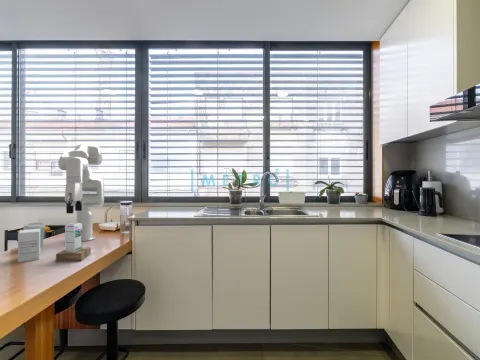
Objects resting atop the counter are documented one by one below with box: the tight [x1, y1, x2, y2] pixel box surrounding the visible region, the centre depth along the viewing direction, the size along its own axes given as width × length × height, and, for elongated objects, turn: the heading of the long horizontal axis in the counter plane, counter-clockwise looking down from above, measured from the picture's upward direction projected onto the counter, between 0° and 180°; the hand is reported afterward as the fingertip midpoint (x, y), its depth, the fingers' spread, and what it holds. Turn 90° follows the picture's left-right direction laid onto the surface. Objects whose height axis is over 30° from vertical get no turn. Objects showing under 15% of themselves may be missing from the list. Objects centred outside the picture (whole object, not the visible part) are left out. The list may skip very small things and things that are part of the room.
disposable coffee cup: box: [22, 222, 47, 249], centre depth 160 cm, size 11×11×15 cm
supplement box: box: [17, 229, 41, 263], centre depth 141 cm, size 9×9×15 cm
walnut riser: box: [55, 246, 92, 263], centre depth 144 cm, size 12×12×4 cm
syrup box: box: [64, 222, 83, 252], centre depth 144 cm, size 6×6×14 cm
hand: (74, 211), depth 144 cm, fingers open, 9 cm apart
